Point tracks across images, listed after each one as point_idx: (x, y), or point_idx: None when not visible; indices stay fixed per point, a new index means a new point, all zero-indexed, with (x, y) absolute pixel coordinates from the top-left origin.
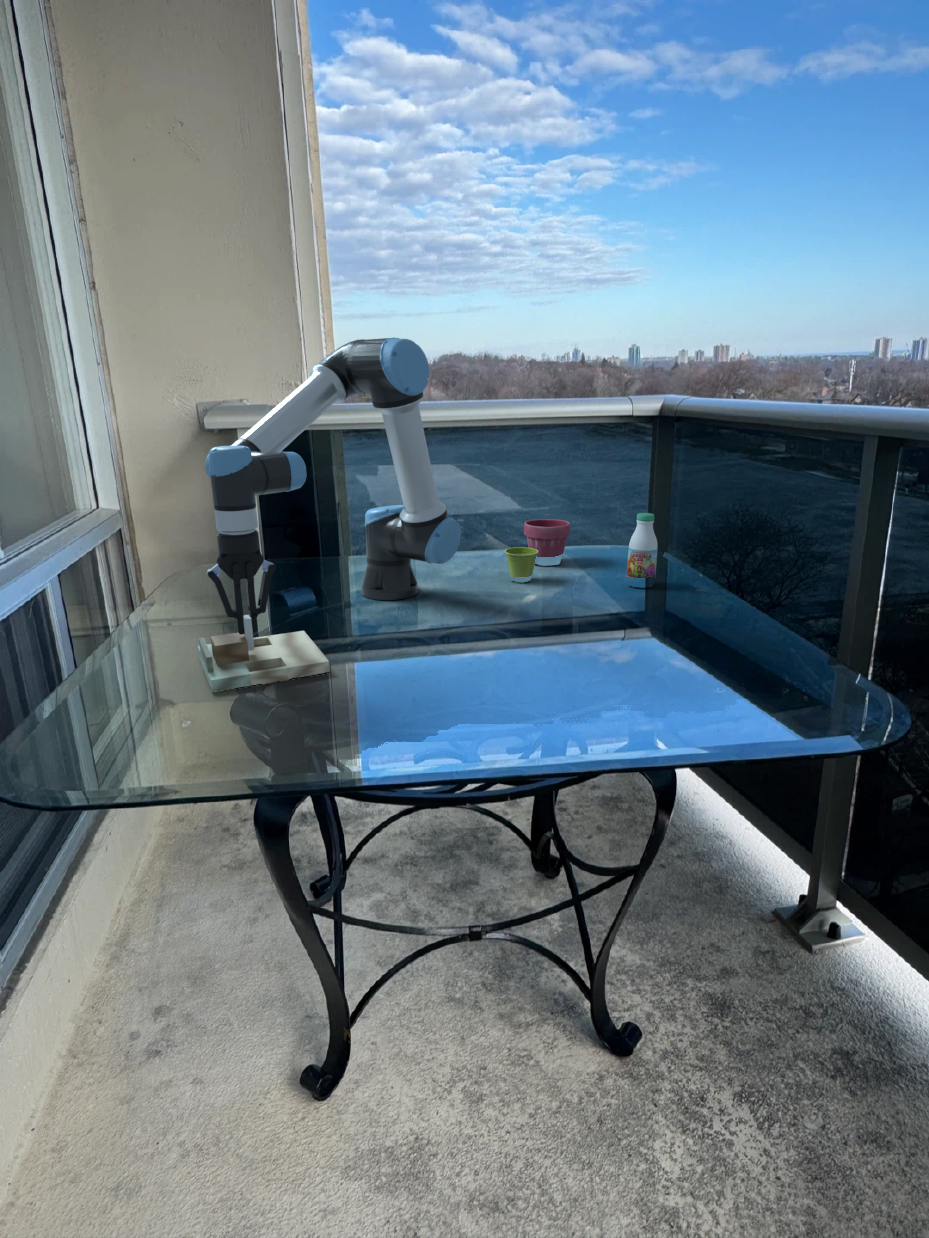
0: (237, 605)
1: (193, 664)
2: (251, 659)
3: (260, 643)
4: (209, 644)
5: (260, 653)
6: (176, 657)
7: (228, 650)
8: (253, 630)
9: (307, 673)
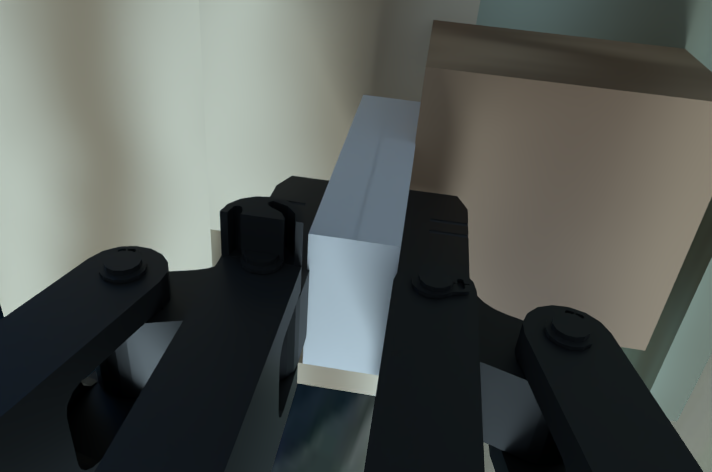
0: (456, 405)
1: None
2: (410, 34)
3: None
4: None
5: (318, 120)
6: (693, 434)
7: (605, 70)
8: (320, 188)
9: None
